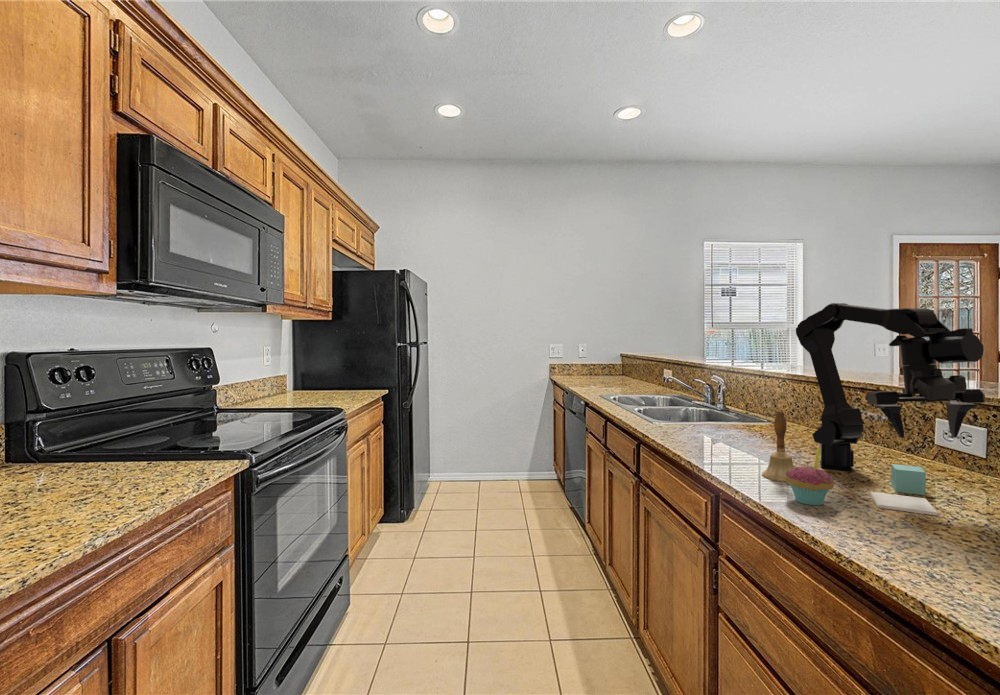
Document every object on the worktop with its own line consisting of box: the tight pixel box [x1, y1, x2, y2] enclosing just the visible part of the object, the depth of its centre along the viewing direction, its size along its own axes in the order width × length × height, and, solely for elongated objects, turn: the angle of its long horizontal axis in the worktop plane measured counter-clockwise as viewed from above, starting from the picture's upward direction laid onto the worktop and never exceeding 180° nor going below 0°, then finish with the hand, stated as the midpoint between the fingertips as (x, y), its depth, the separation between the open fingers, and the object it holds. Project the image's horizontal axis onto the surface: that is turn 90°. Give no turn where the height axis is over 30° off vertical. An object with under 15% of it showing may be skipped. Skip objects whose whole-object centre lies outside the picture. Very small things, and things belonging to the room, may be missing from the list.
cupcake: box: [784, 443, 835, 506], centre depth 98 cm, size 9×8×12 cm
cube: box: [890, 463, 927, 496], centre depth 105 cm, size 5×5×5 cm
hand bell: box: [761, 410, 795, 483], centre depth 115 cm, size 8×8×16 cm
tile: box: [869, 491, 939, 516], centre depth 96 cm, size 9×9×1 cm
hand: (927, 437), depth 103 cm, fingers open, 9 cm apart
